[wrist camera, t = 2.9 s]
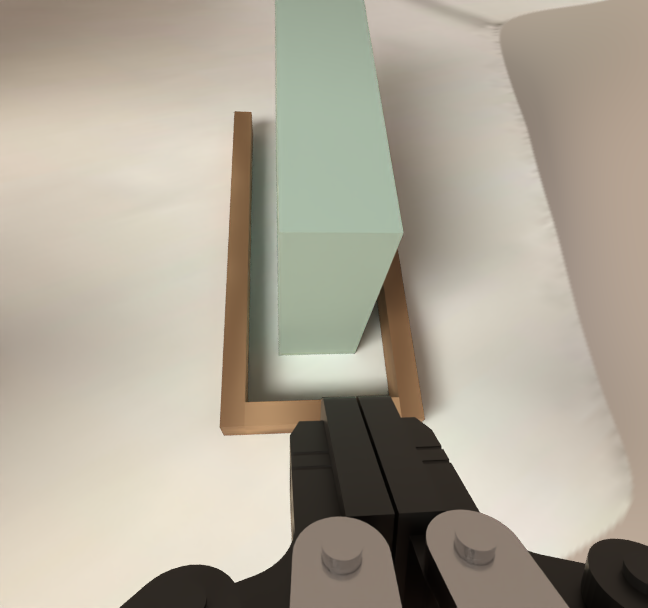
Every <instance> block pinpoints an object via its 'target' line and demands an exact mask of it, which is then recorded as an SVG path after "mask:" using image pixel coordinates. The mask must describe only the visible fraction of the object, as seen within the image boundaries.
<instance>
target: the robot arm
mask: <svg viewBox="0 0 648 608" xmlns="http://www.w3.org/2000/svg"><path fill="white" fill-rule="evenodd" d="M290 510H291V532H292V543H291V545H290V548H289V549H288V551H287V552H286V554H285V555H284V556H283V557H282V558H281V559H280V560H279V561H278V562H277V563H276V564H275V565H273V566H272V567H270V568H269V569H267V570H266V571H264V572H262V573H259V574H257V575H255V576H252V577H250V578H247V579H244V580H242V581H239V582H236V583H234V581H233V580H232V579H231V578H230V577H229V576H228V575H227V574H226V573H224V572H223V571H221V570H219V569H217V568H214V567H211V566H206V565H187V566H181V567H178V568H175V569H172V570H169V571H167V572H165V573H163V574H161V575H159V576H158V577H156V578H154V579H153V580H152V581H150V582H149V583H148V584H146V585H145V586H144V587H143V588H142V589H141V590H139V591H138V592H137V593H136V594H135V595H134V596H132V597H131V598H130V599H129V600H128V601H127V602H126V603H124V604H123V605H122V606H121V607H120V608H648V546H646V545H643V544H640V543H637V542H633V541H629V540H623V539H606V540H602V541H599V542H597V543H595V544H594V545H593V546H592V547H591V548H590V550H589V553H588V556H587V560H586V564H584V563H579V562H575V561H570V560H565V559H560V558H555V557H550V556H545V555H541V554H537V553H533V552H530V551H527V550H526V548H525V547H524V546H523V544H522V543H521V542H520V540H519V539H518V538H517V536H516V535H515V534H514V533H513V532H512V531H511V530H510V529H509V528H508V527H506V526H505V525H504V524H502V523H501V522H499V521H498V520H496V519H494V518H492V517H490V516H488V515H485V514H482V513H480V512H479V510H478V508H477V507H476V505H475V503H474V501H473V500H472V498H471V496H470V495H469V493H468V491H467V489H466V488H465V486H464V484H463V483H462V481H461V479H460V477H459V476H458V474H457V472H456V470H455V469H454V467H453V465H452V464H451V463H449V458H448V457H447V455H446V453H445V452H444V450H443V449H441V445H440V443H439V441H438V440H437V438H436V436H435V434H434V433H433V431H432V430H431V429H430V428H429V427H427V426H426V425H425V424H423V423H422V422H421V421H420V420H418V419H417V418H416V417H400V414H399V412H398V410H397V408H396V406H395V404H394V402H393V400H392V398H391V396H389V395H382V396H357V397H356V398H355V397H354V396H353V397H322V399H321V416H320V421H299V422H298V424H297V425H296V427H295V428H294V430H293V432H292V433H291V435H290Z"/></svg>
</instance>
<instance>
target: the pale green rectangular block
mask: <svg viewBox="0 0 648 608" xmlns="http://www.w3.org/2000/svg"><path fill="white" fill-rule="evenodd" d="M275 59H276V180H277V256H278V332H279V355H311V354H355V352H356V349H357V347H358V344H359V342H360V339H361V337H362V334H363V332H364V329H365V327H366V325H367V322H368V320H369V317H370V315H371V312H372V310H373V307H374V305H375V302H376V300H377V297H378V295H379V292H380V290H381V287H382V285H383V282H384V280H385V278H386V275H387V273H388V270H389V268H390V265H391V263H392V260H393V258H394V255H395V253H396V250H397V248H398V245H399V243H400V240H401V238H402V235H403V227H402V221H401V216H400V210H399V204H398V198H397V192H396V186H395V180H394V174H393V169H392V163H391V157H390V151H389V145H388V139H387V133H386V127H385V122H384V116H383V110H382V104H381V98H380V92H379V86H378V80H377V75H376V69H375V63H374V57H373V51H372V45H371V39H370V33H369V28H368V22H367V16H366V10H365V4H364V0H275Z"/></svg>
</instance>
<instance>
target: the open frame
mask: <svg viewBox="0 0 648 608" xmlns="http://www.w3.org/2000/svg"><path fill="white" fill-rule="evenodd" d="M252 151H253V129H252V113H251V112H236V111H235V114H234V135H233V156H232V178H231V199H230V220H229V242H228V263H227V284H226V305H225V327H224V348H223V369H222V391H221V412H220V428H221V430H222V432H223V434H224V436H225V435H250V434H275V433H292V432H293V430H294V428H295V427H296V425H297V424H298V422H299V421H320V416H321V400H299V401H268V402H248V354H249V303H250V252H251V201H252ZM377 303H378V311H379V319H380V327H381V335H382V343H383V351H384V358H385V366H386V374H387V382H388V390H389V396H391V398H392V400H393V402H394V404H395V406H396V408H397V410H398V412H399V414H400V417H416V418H417V419H418V420H420V421H421V422H422V421H423V420H424V419H425V418H424V411H423V405H422V399H421V392H420V386H419V380H418V374H417V367H416V361H415V355H414V349H413V342H412V336H411V330H410V324H409V317H408V311H407V305H406V299H405V292H404V286H403V280H402V273H401V267H400V261H399V255H398V248H397V250H396V253H395V255H394V258H393V260H392V263H391V265H390V268H389V270H388V273H387V275H386V278H385V280H384V282H383V285H382V287H381V290H380V292H379V295H378V297H377Z"/></svg>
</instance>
